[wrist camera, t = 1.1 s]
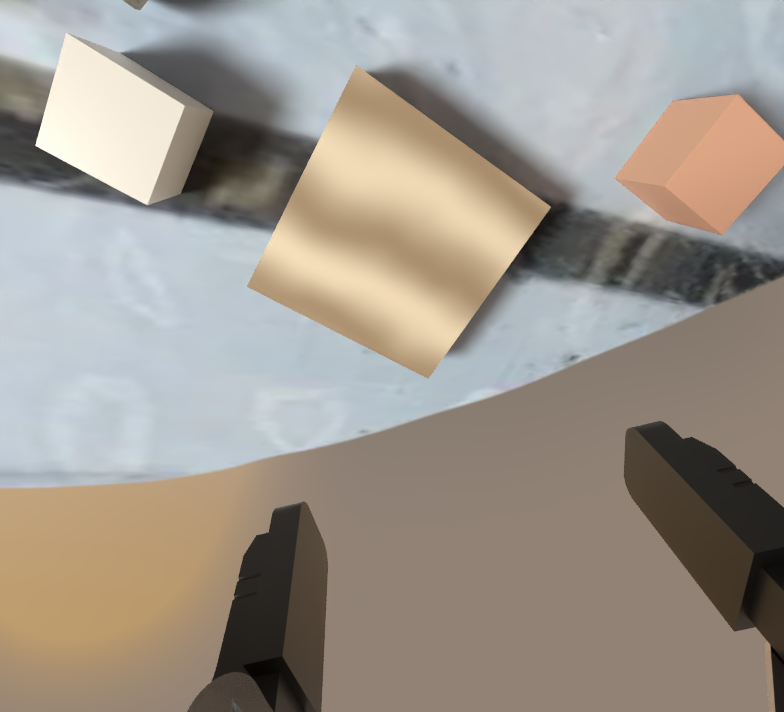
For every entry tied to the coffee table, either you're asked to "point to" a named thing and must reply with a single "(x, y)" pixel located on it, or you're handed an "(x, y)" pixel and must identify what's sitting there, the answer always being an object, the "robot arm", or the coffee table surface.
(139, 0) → the toy tank
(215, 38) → the coffee table surface
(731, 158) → the terracotta cube
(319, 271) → the birch block
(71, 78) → the cream cube
